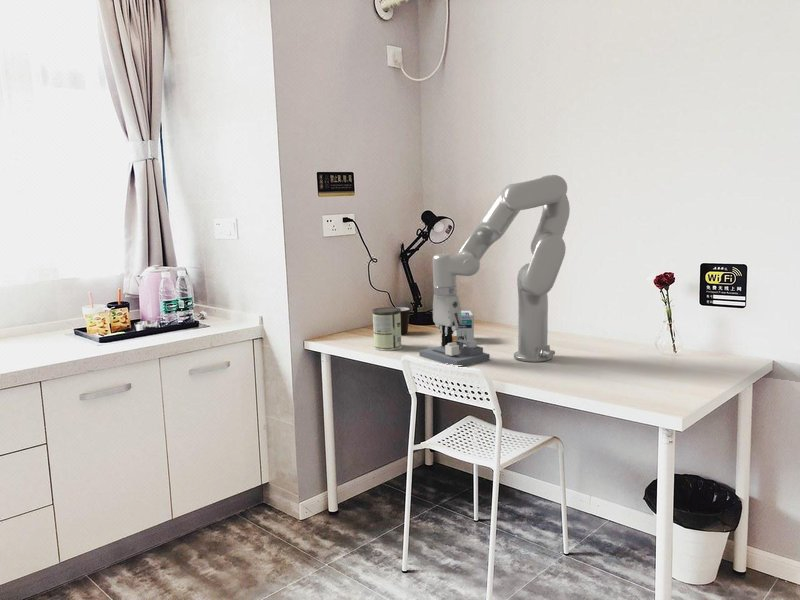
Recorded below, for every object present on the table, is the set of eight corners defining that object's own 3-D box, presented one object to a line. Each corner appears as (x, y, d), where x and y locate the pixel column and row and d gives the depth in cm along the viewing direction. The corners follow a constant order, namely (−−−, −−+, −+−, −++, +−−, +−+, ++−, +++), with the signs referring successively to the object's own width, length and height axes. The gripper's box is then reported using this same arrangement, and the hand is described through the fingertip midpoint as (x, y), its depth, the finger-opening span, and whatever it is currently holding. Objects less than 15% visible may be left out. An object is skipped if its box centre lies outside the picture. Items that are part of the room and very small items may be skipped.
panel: (489, 360, 222) (489, 348, 222) (457, 367, 214) (456, 355, 214) (450, 349, 239) (450, 338, 238) (419, 355, 231) (419, 344, 230)
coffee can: (374, 344, 250) (373, 307, 248) (401, 344, 250) (401, 306, 247) (372, 351, 240) (371, 312, 238) (401, 350, 239) (400, 311, 237)
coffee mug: (393, 331, 274) (392, 307, 272) (413, 332, 271) (412, 307, 269) (382, 337, 263) (382, 311, 261) (403, 338, 260) (402, 312, 258)
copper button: (459, 344, 232) (459, 336, 231) (451, 345, 230) (451, 338, 229) (452, 342, 235) (452, 335, 234) (444, 344, 232) (444, 336, 232)
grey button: (479, 349, 224) (479, 341, 223) (470, 350, 221) (470, 343, 221) (471, 347, 226) (471, 339, 226) (463, 349, 224) (463, 341, 224)
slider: (459, 354, 221) (458, 343, 220) (451, 355, 219) (451, 344, 219) (452, 352, 224) (452, 341, 223) (445, 354, 222) (445, 342, 221)
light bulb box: (474, 343, 247) (474, 315, 245) (456, 344, 247) (455, 315, 246) (471, 337, 258) (471, 310, 256) (454, 338, 258) (453, 310, 256)
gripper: (468, 292, 217) (470, 347, 220) (439, 288, 229) (442, 340, 232) (450, 294, 213) (452, 351, 216) (422, 290, 225) (424, 344, 228)
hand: (447, 345), depth 224 cm, fingers closed
